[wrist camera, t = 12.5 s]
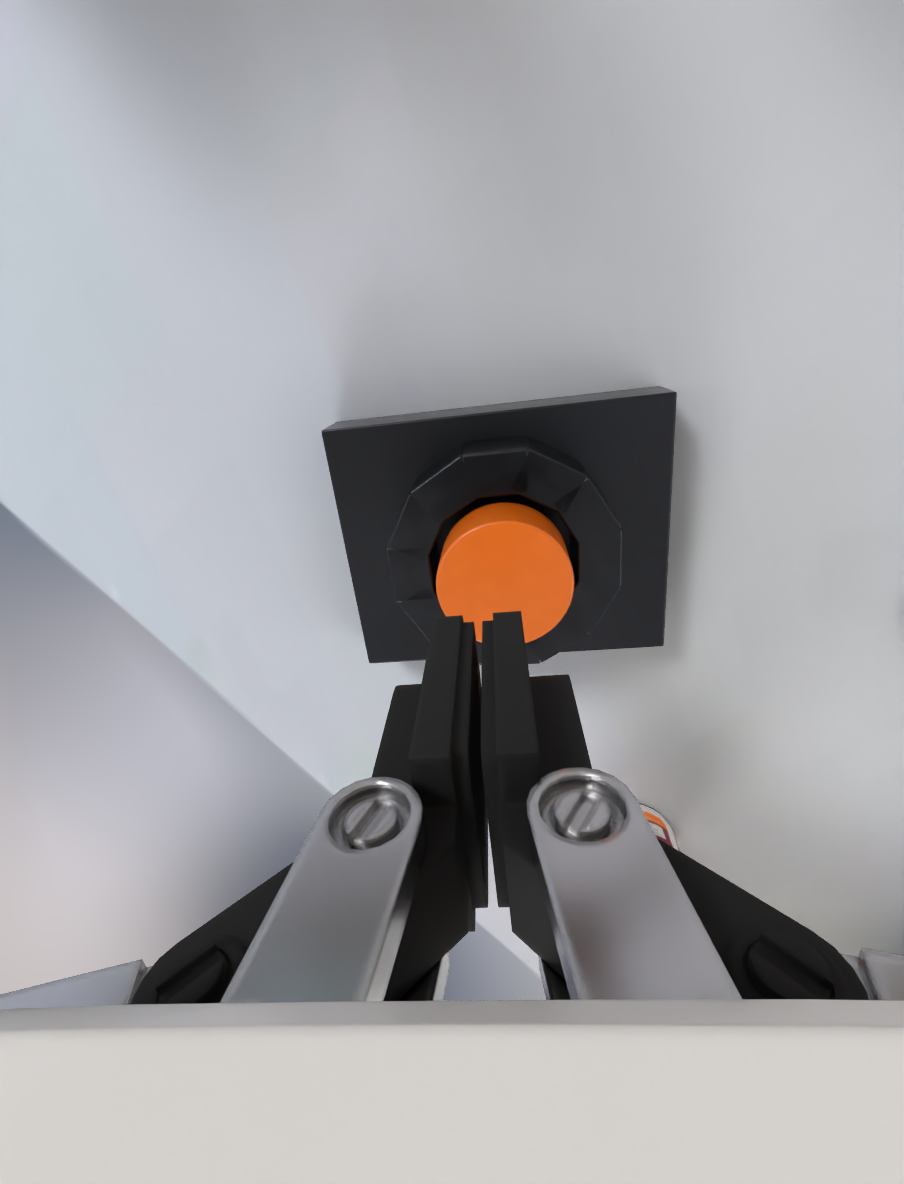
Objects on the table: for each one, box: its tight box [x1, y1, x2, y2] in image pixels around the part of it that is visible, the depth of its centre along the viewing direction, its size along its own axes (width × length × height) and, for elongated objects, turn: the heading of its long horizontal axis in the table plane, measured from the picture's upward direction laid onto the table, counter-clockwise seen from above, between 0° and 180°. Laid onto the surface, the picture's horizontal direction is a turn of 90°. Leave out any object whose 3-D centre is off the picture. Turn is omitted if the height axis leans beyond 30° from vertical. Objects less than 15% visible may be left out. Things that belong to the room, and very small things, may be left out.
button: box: [436, 502, 574, 643], centre depth 15 cm, size 4×4×2 cm
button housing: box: [322, 386, 677, 665], centre depth 17 cm, size 10×8×4 cm
